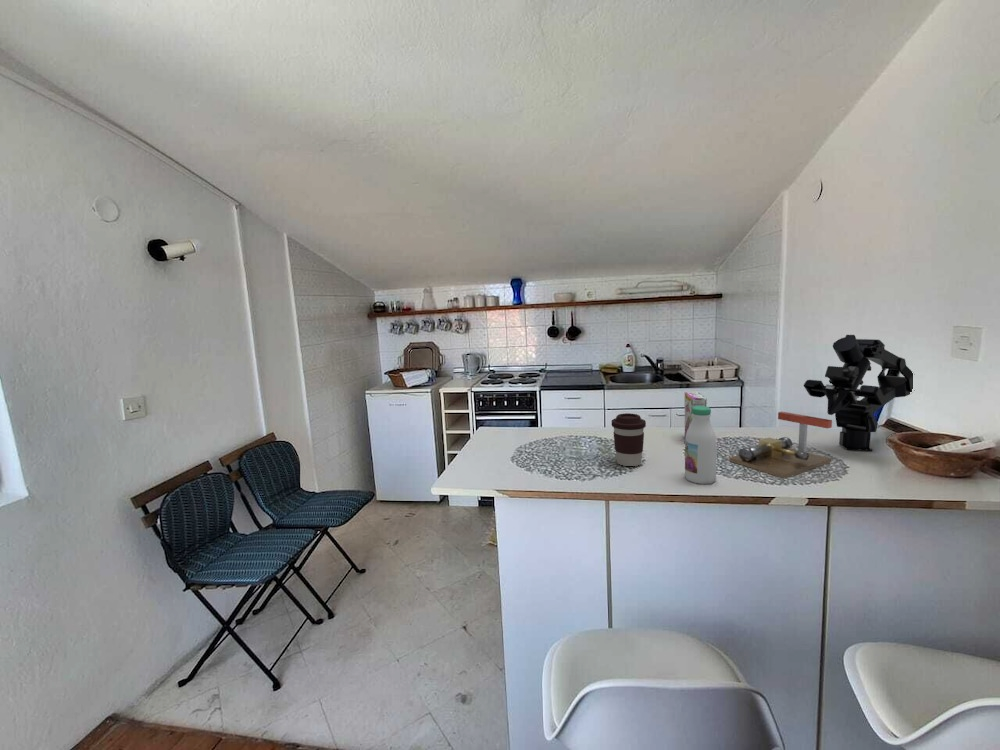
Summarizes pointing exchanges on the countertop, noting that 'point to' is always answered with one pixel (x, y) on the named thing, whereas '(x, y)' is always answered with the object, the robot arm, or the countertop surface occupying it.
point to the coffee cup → (628, 438)
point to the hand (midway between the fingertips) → (829, 414)
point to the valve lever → (804, 429)
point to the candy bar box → (692, 401)
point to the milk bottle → (700, 448)
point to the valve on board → (777, 458)
